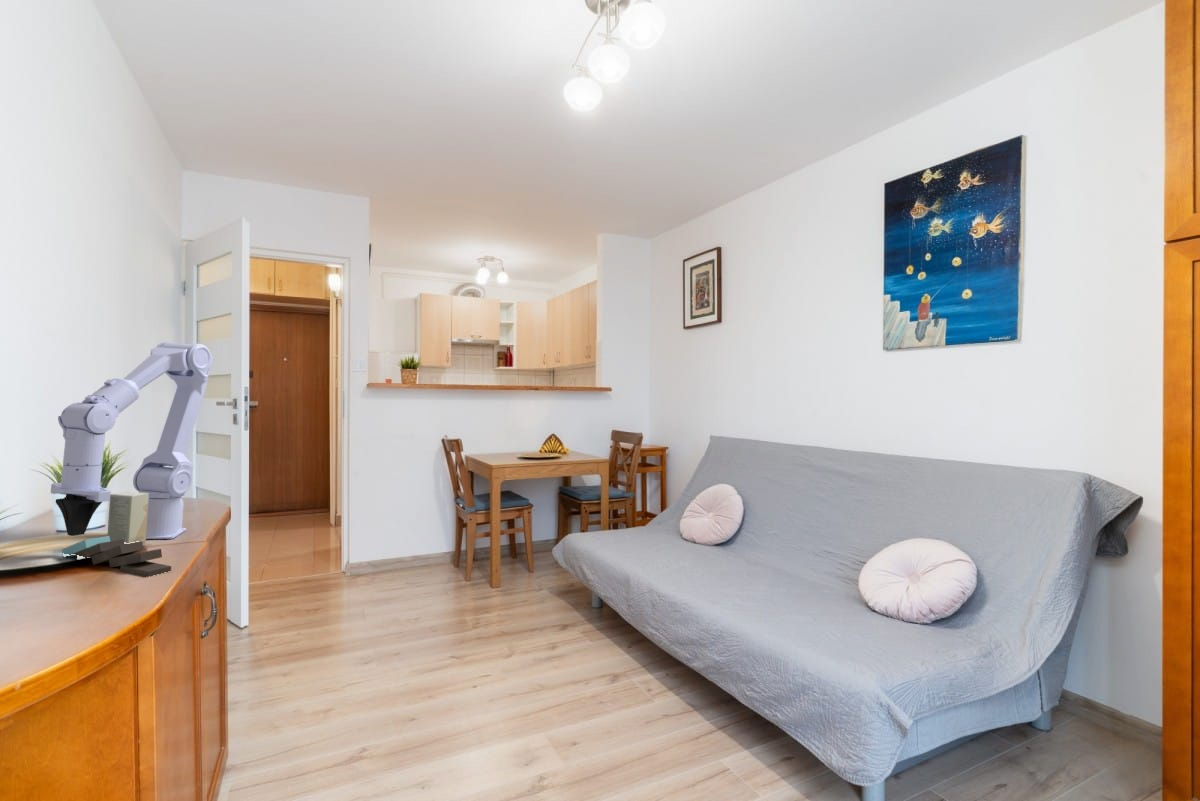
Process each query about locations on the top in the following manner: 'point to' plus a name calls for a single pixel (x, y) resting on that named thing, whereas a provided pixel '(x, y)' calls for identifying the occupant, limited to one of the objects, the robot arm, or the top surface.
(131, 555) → the tile
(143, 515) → the box
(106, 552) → the tile
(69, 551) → the lead tile
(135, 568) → the tile
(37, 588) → the top surface
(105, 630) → the top surface
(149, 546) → the top surface
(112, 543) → the tile
